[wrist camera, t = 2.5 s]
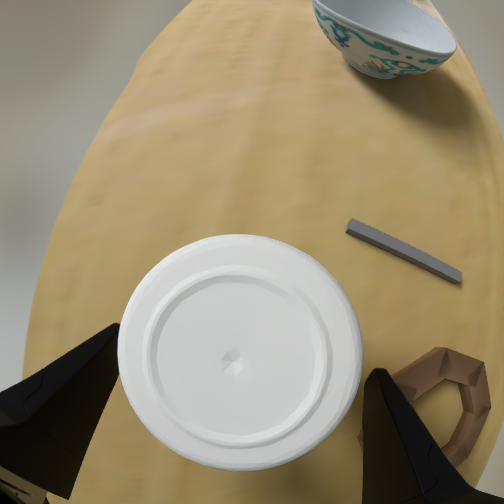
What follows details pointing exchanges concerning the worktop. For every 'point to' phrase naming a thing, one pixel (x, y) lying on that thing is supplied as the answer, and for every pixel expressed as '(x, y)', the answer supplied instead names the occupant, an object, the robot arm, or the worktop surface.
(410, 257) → the grey rectangular bar
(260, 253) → the sprinkles bottle
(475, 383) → the walnut ring
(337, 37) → the chinaware
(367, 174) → the worktop surface
